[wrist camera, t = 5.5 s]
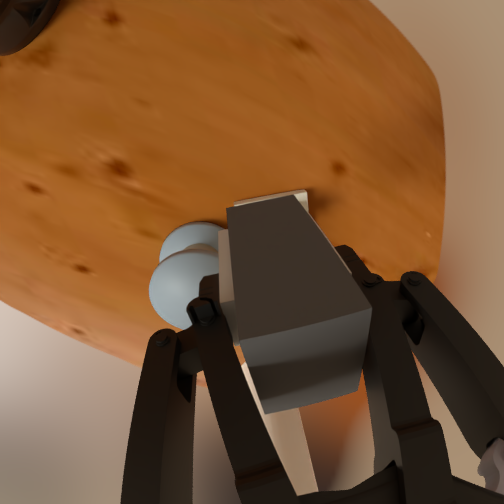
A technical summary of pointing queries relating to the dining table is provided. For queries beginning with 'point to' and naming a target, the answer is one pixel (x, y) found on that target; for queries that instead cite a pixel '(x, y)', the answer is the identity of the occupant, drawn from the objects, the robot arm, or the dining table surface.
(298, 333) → the gray rectangular block
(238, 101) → the dining table surface
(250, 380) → the cylinder container
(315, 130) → the dining table surface
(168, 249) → the spool
